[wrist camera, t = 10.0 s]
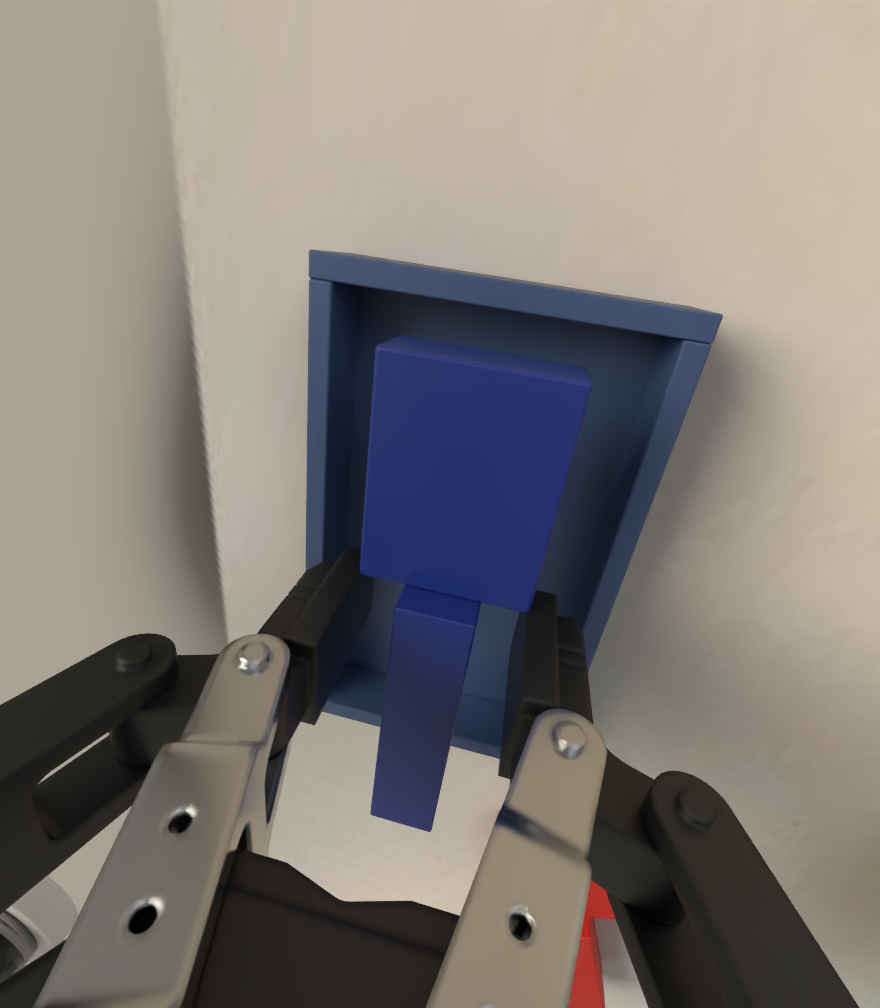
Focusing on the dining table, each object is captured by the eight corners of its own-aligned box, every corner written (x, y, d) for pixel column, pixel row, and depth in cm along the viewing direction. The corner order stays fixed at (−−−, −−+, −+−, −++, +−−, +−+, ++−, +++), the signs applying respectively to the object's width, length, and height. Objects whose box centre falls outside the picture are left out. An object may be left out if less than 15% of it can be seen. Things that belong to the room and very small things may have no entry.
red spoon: (622, 965, 26) (630, 1027, 24) (547, 956, 27) (547, 1014, 25) (600, 808, 21) (606, 869, 19) (508, 804, 22) (504, 861, 20)
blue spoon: (479, 766, 16) (469, 845, 14) (361, 734, 16) (333, 804, 14) (587, 367, 10) (599, 393, 8) (397, 333, 10) (359, 351, 8)
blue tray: (549, 715, 19) (550, 773, 17) (329, 659, 20) (303, 707, 18) (691, 306, 12) (724, 314, 10) (347, 252, 13) (308, 249, 11)
